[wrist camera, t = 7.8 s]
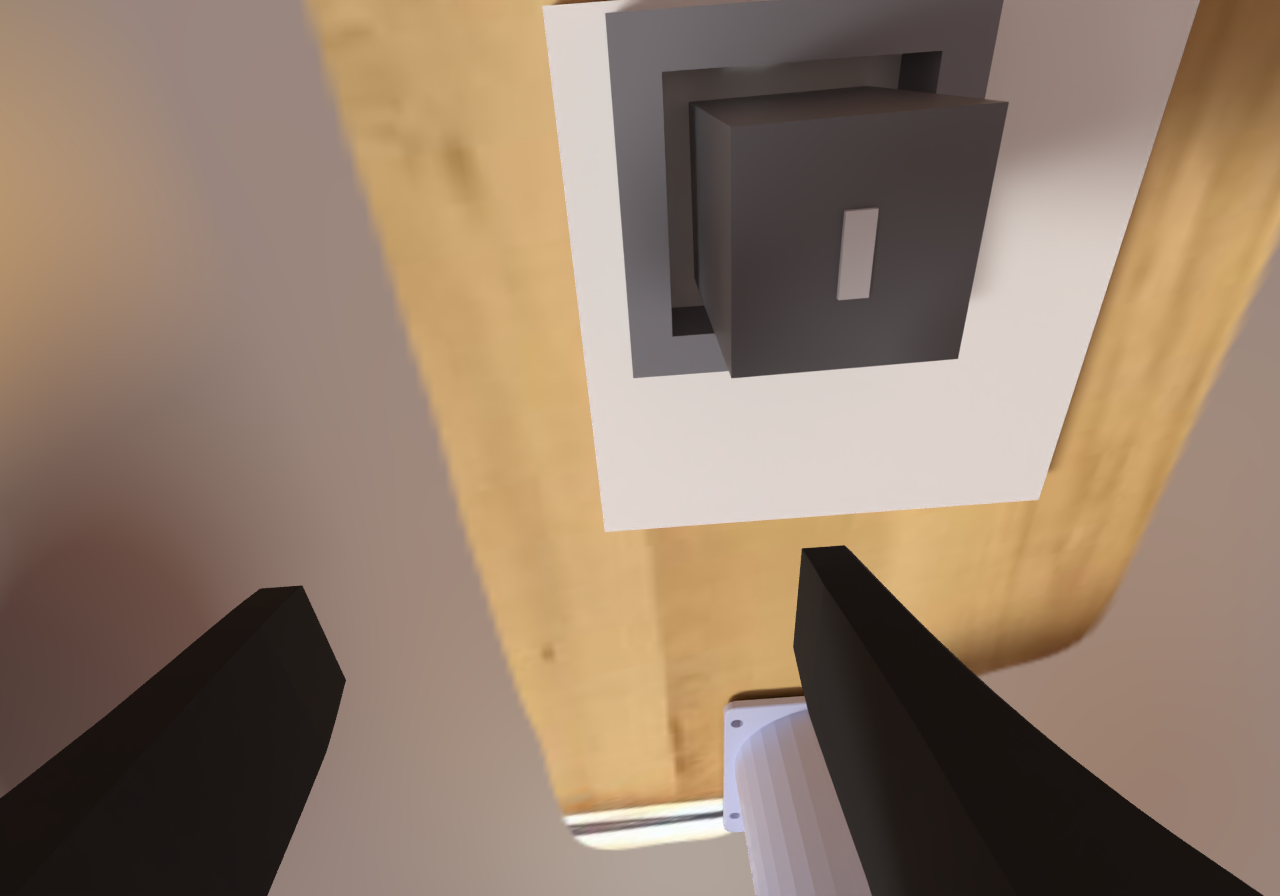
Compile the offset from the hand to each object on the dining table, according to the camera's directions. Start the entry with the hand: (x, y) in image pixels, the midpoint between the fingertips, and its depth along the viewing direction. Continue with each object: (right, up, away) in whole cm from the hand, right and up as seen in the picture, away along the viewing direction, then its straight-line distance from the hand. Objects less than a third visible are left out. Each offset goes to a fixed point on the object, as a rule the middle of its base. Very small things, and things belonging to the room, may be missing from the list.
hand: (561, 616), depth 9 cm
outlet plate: (+7, +7, +8) cm, 13 cm away
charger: (+4, +9, +6) cm, 11 cm away
